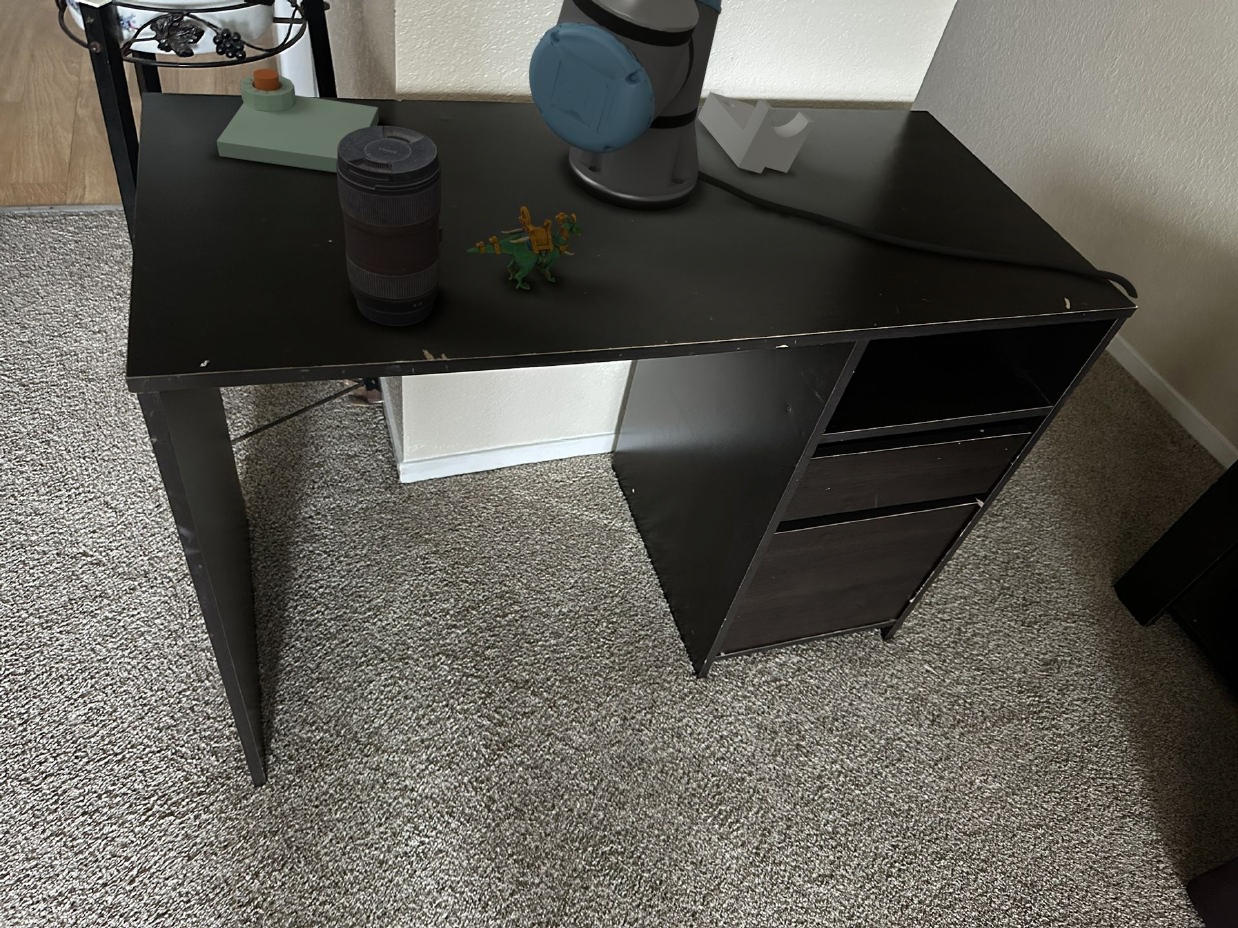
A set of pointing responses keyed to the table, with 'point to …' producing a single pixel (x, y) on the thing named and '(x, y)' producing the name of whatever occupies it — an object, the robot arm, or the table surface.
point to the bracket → (754, 133)
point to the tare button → (266, 80)
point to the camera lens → (391, 221)
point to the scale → (291, 127)
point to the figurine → (532, 245)
